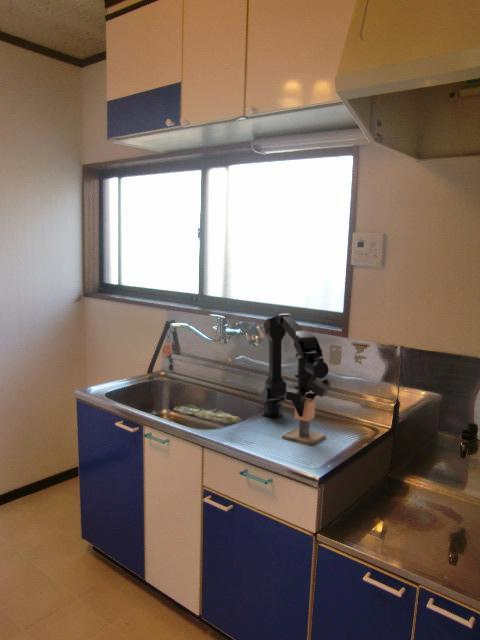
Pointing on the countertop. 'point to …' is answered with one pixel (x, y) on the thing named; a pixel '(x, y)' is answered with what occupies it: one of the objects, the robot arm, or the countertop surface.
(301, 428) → the stand
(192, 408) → the stone wall
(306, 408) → the salmon orange block
